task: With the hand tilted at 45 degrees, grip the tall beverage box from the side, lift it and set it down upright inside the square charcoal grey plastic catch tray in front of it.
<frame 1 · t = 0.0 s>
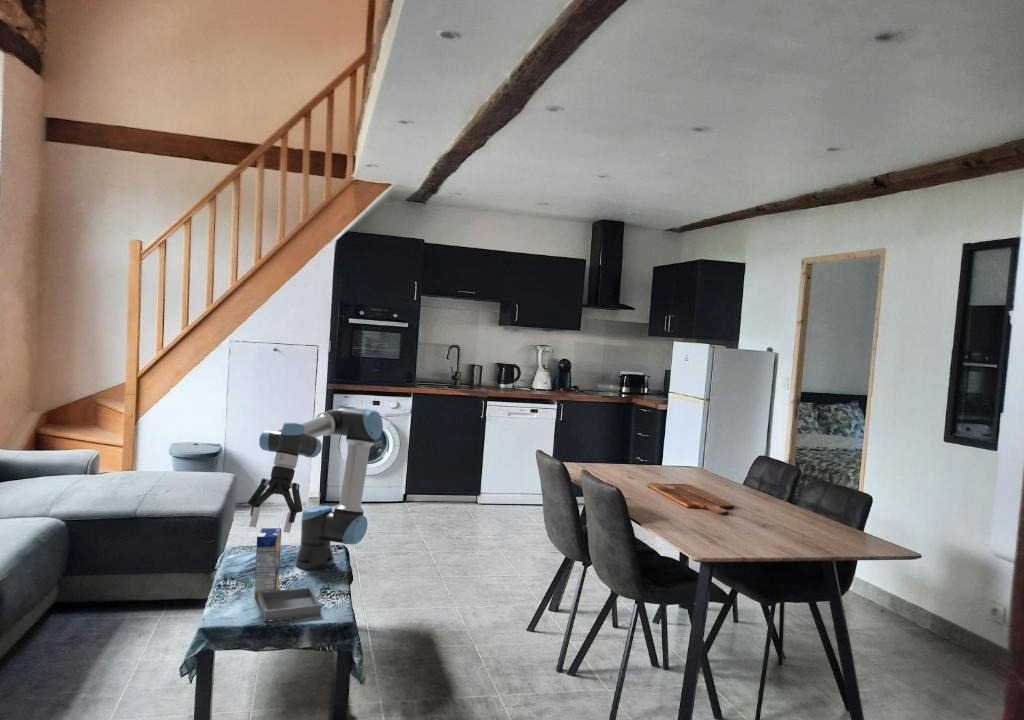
hand: (269, 529, 245), 28 cm above the table, tool tilted 20°, fingers open, 13 cm apart
catch tray: (288, 608, 249), on the table
beverage box: (266, 593, 263), on the table
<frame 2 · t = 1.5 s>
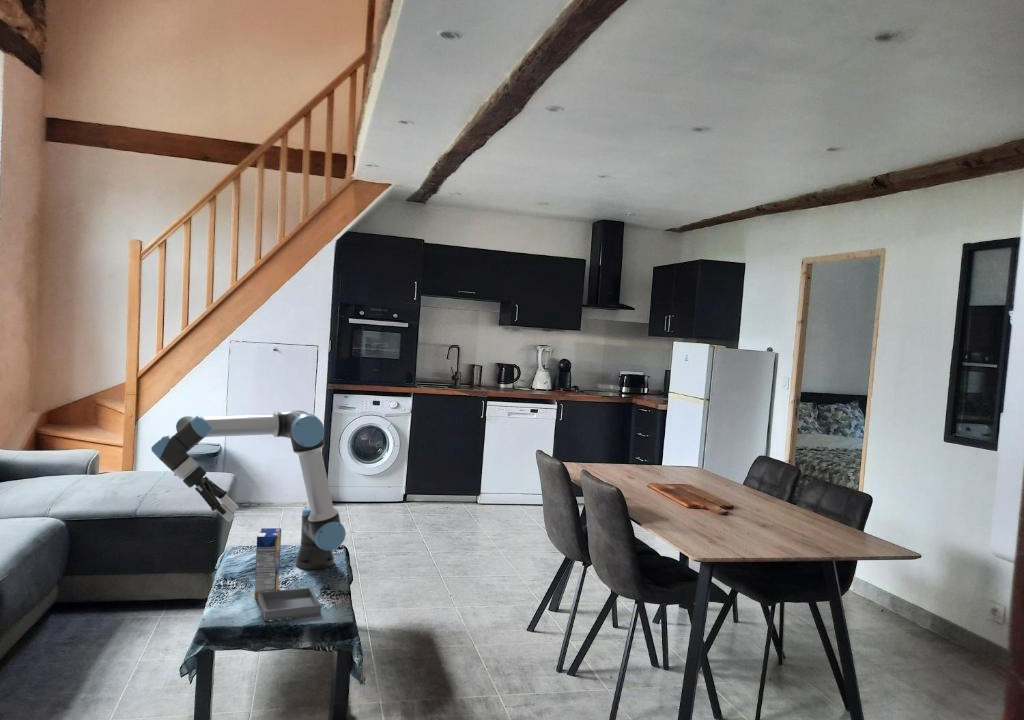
hand: (233, 514, 260), 28 cm above the table, tool tilted 45°, fingers open, 13 cm apart
nothing on the table moved.
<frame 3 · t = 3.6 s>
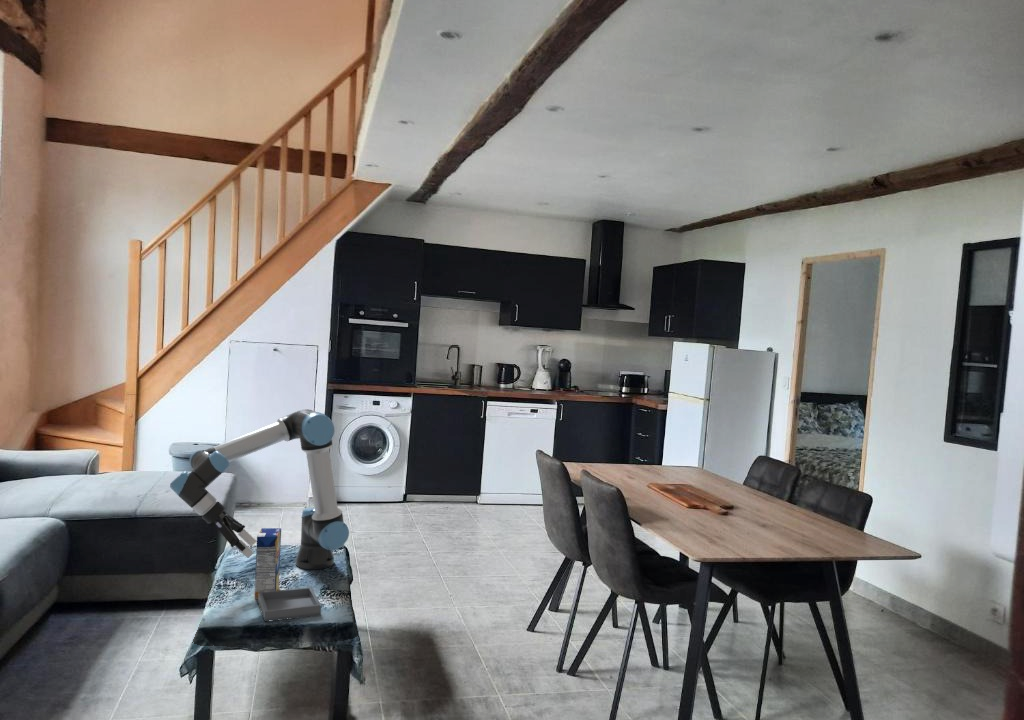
hand: (252, 549, 260), 16 cm above the table, tool tilted 45°, fingers open, 13 cm apart
nothing on the table moved.
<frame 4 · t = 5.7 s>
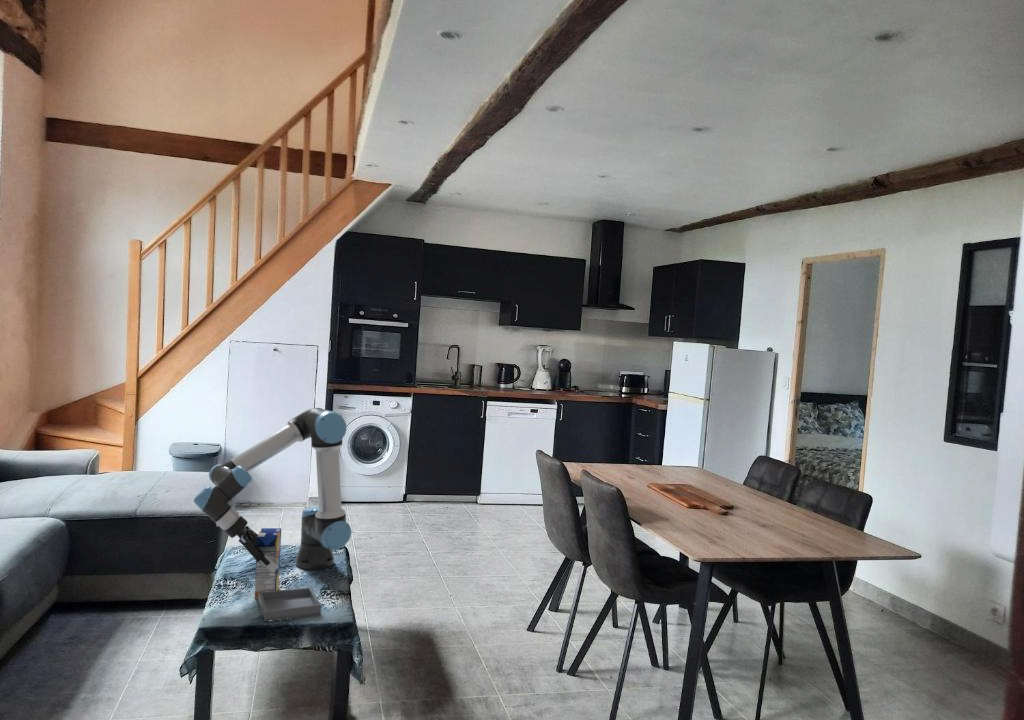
hand: (276, 564, 263), 10 cm above the table, tool tilted 45°, fingers closed on beverage box, 11 cm apart
beverage box: (266, 593, 263), on the table, touching gripper
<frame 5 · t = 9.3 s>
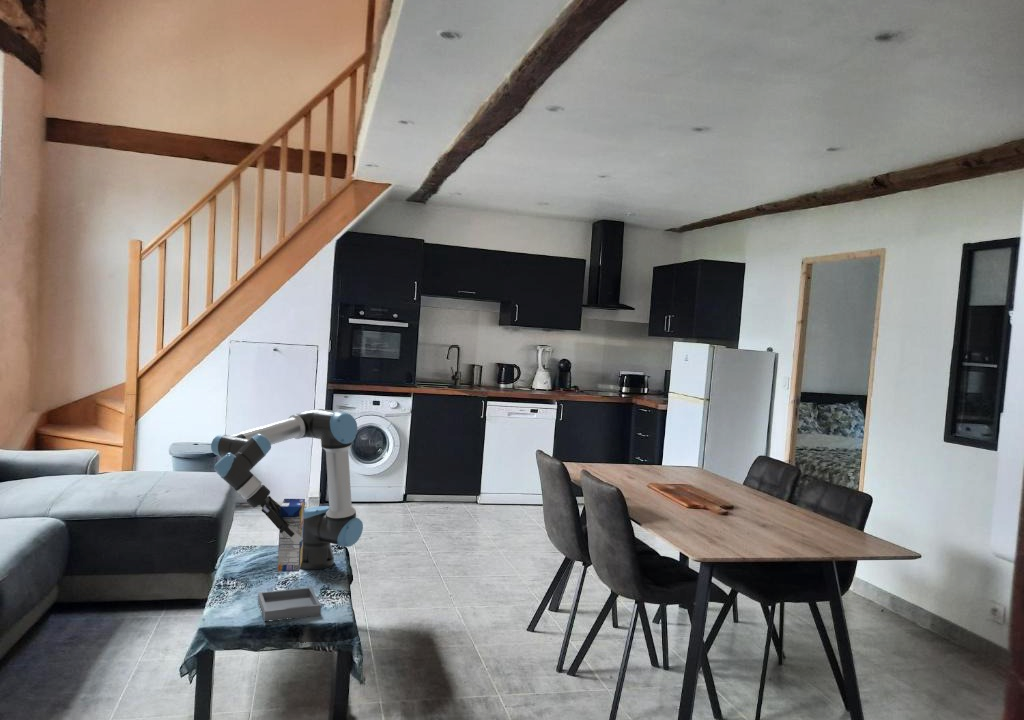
hand: (300, 536, 249), 25 cm above the table, tool tilted 45°, fingers closed on beverage box, 11 cm apart
beverage box: (290, 566, 249), point 15 cm above the table, touching gripper
when the fingers open (13 cm above the table, at t = 12.7 s): beverage box drops 1 cm, resting on catch tray.
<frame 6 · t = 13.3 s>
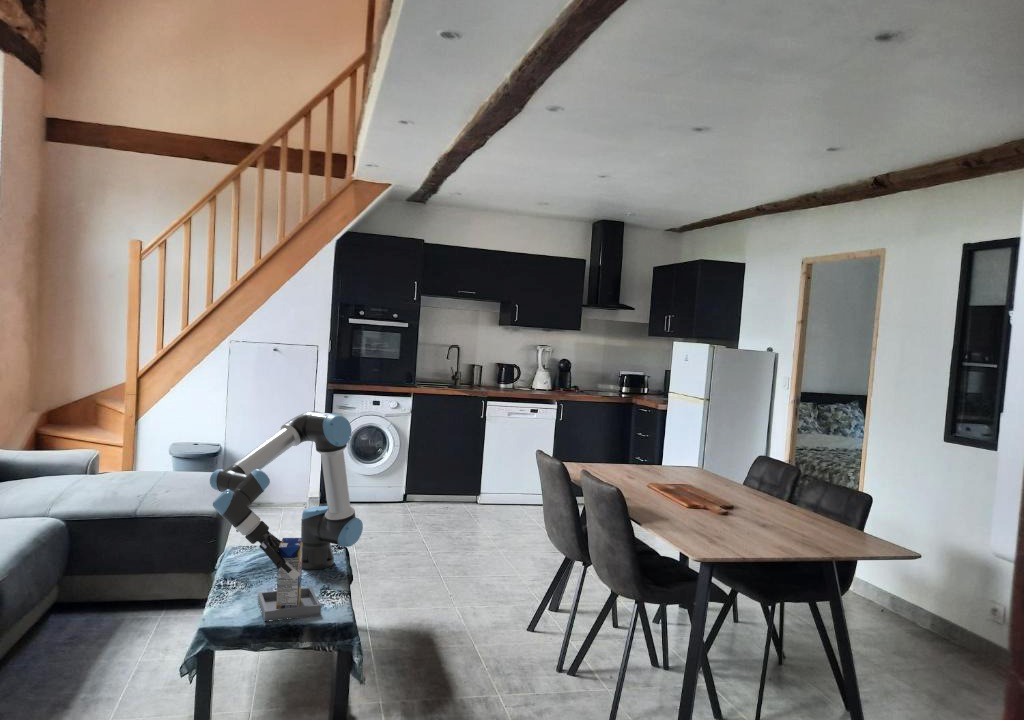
hand: (297, 570, 249), 13 cm above the table, tool tilted 45°, fingers open, 13 cm apart
beverage box: (288, 606, 249), point 1 cm above the table, touching catch tray
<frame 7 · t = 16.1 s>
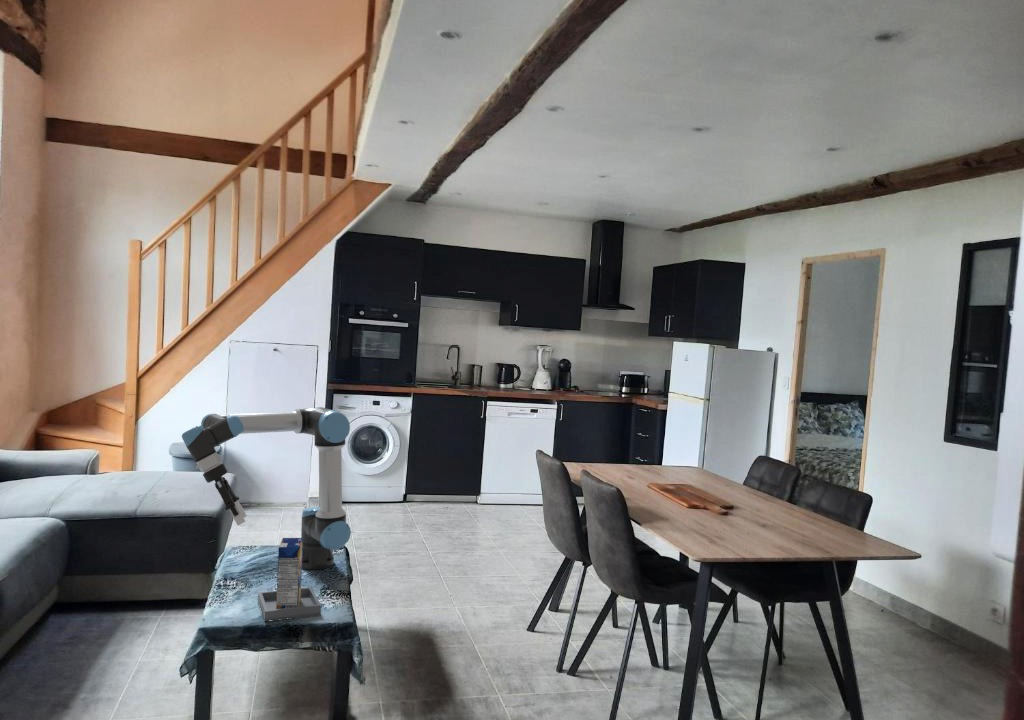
hand: (242, 520, 255), 27 cm above the table, tool tilted 30°, fingers open, 13 cm apart
nothing on the table moved.
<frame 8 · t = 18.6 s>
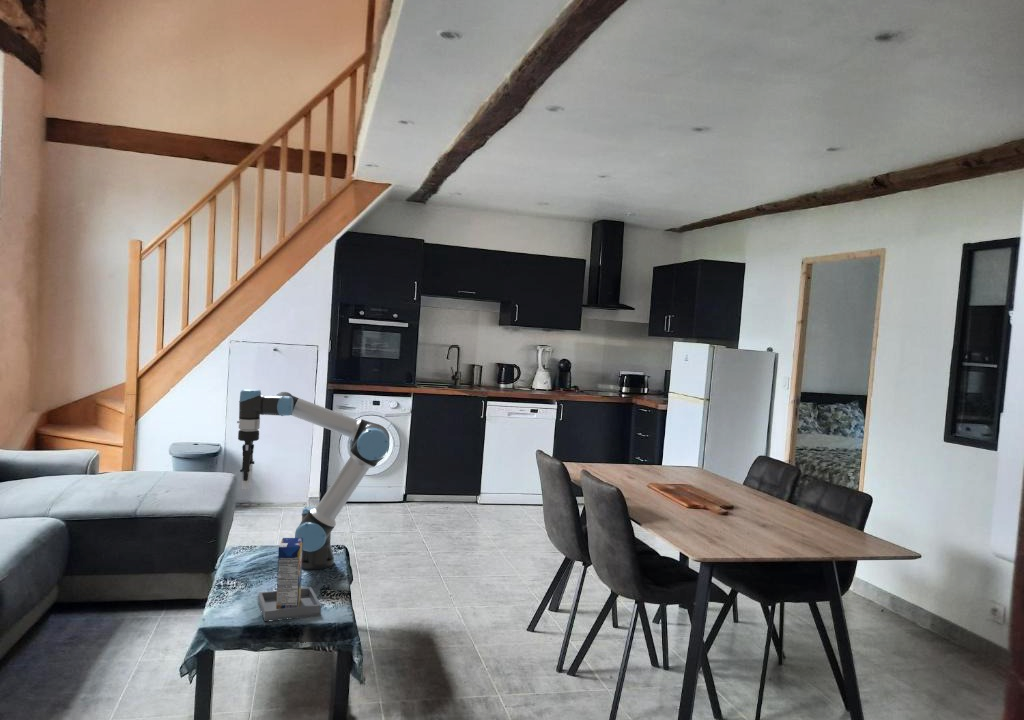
hand: (246, 485, 279), 35 cm above the table, tool pointing down, fingers open, 13 cm apart
nothing on the table moved.
at the end: beverage box inside the target area on the catch tray (0.1 cm from its centre), point 0.8 cm above the catch tray's base; beverage box tilted 0°; the gripper is holding nothing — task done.
